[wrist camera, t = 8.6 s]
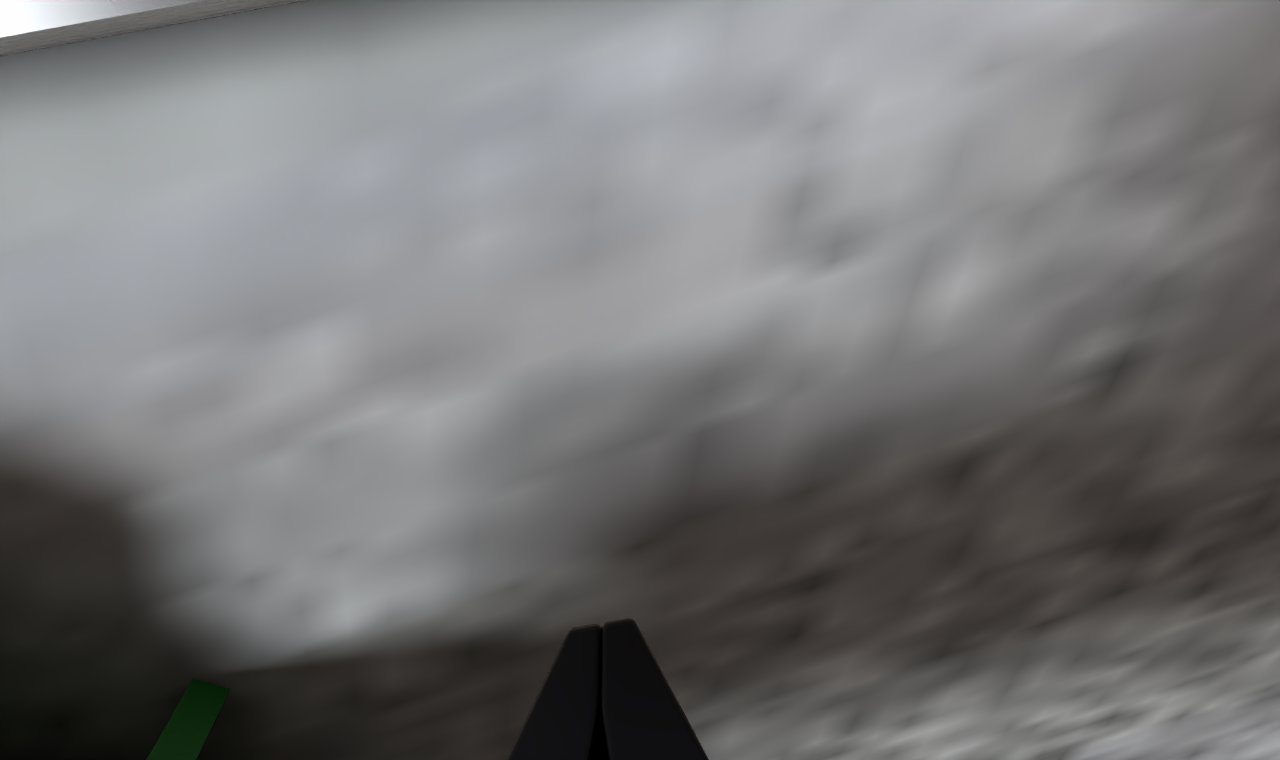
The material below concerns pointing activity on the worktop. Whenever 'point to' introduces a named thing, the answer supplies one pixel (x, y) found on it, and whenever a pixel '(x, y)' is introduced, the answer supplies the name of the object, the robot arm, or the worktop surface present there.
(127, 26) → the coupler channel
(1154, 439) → the worktop surface
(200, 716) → the clamp
